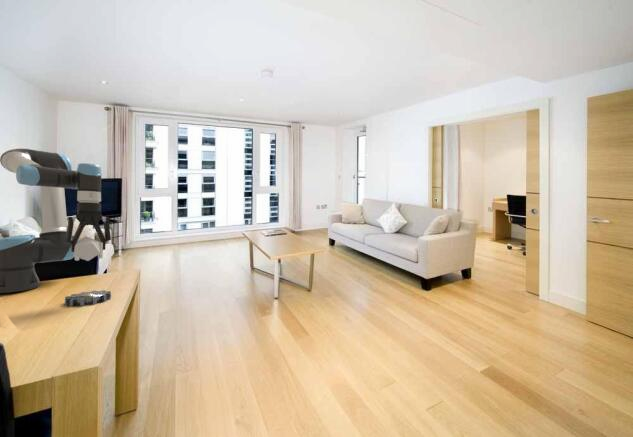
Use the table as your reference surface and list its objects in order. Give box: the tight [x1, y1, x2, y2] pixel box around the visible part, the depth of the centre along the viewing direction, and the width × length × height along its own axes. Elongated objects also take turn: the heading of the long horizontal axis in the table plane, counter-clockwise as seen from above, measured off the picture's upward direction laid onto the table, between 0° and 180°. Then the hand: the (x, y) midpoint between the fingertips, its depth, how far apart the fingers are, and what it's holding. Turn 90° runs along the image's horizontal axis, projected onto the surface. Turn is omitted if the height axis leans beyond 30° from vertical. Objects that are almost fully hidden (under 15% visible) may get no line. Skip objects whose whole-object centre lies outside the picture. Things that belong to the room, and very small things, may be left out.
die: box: [73, 236, 101, 262], centre depth 114 cm, size 8×9×10 cm
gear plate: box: [64, 289, 112, 307], centre depth 114 cm, size 15×15×2 cm
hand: (88, 258), depth 114 cm, fingers closed on die, 7 cm apart
